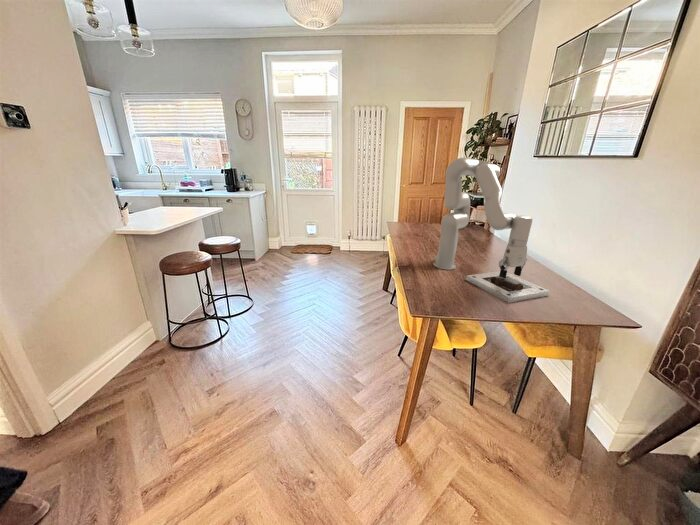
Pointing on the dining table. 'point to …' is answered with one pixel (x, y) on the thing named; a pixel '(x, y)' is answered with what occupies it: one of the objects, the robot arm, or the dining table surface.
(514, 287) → the bolt
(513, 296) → the plate
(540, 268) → the dining table surface
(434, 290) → the dining table surface
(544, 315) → the dining table surface
